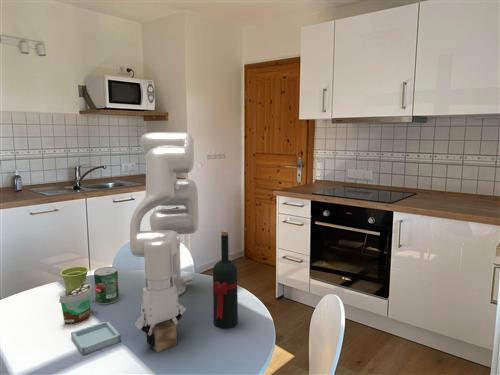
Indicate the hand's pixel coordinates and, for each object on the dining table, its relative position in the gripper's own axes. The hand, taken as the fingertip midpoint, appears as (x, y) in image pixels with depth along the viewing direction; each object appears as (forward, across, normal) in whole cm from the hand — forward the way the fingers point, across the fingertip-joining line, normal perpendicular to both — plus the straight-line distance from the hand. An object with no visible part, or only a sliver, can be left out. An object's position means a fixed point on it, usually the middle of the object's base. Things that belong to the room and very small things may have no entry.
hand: (162, 340), depth 110 cm
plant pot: (+1, +9, -51) cm, 52 cm away
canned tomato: (+1, +2, -38) cm, 38 cm away
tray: (+1, +14, -14) cm, 20 cm away
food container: (+1, +13, -30) cm, 33 cm away
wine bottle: (+1, -20, +3) cm, 20 cm away
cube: (+1, 0, 0) cm, 1 cm away
